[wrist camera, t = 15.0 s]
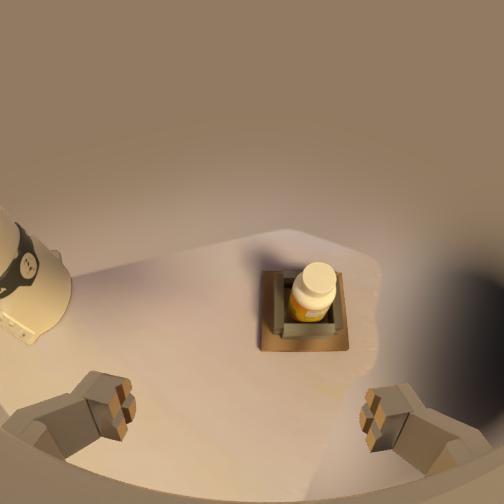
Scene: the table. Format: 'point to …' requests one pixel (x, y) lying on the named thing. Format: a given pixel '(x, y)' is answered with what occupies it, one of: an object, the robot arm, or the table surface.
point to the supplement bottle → (312, 294)
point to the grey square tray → (300, 335)
